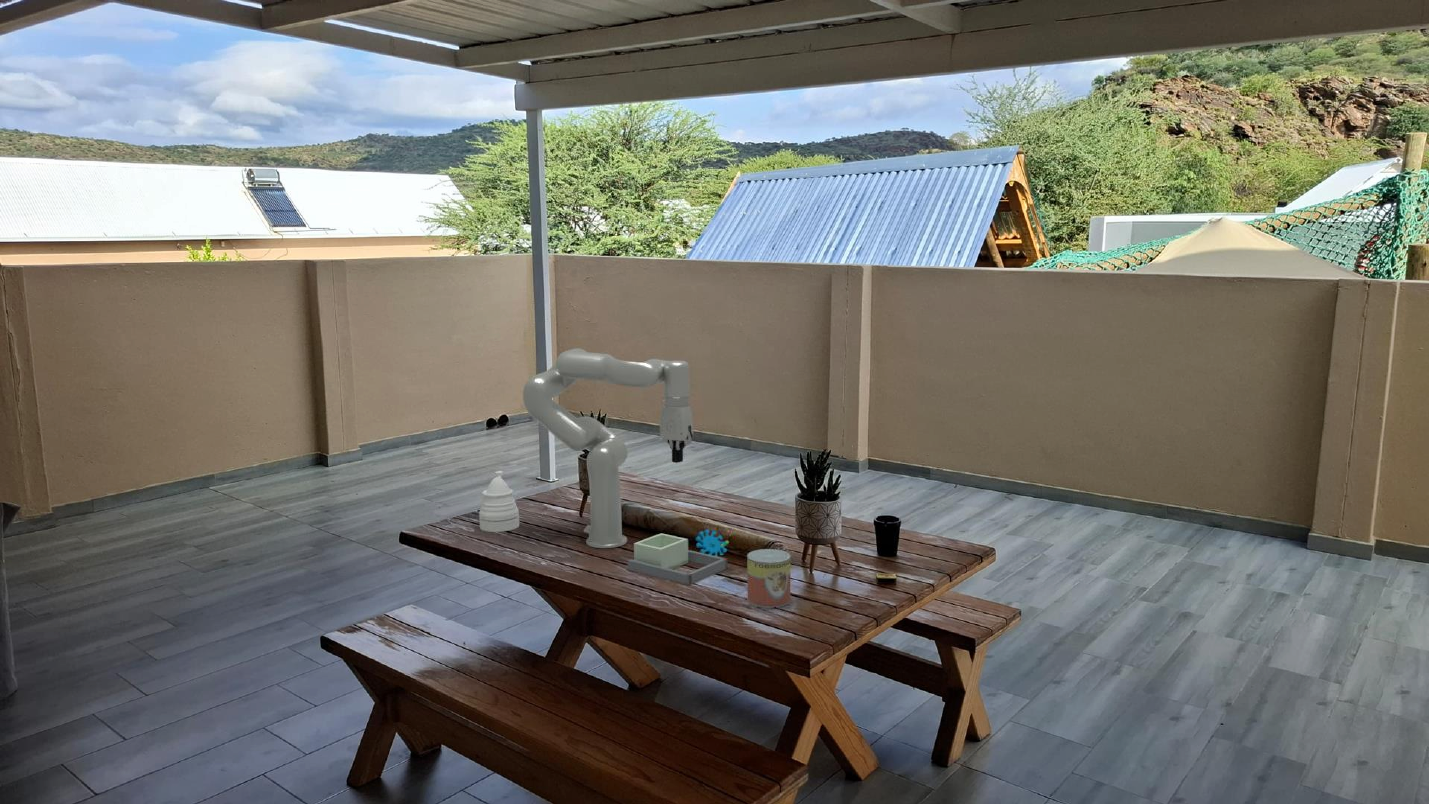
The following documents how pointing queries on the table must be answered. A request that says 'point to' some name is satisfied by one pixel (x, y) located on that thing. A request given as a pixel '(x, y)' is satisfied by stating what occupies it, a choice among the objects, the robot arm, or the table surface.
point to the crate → (662, 551)
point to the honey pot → (498, 507)
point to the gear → (711, 543)
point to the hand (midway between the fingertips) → (677, 461)
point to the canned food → (768, 578)
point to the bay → (712, 567)
